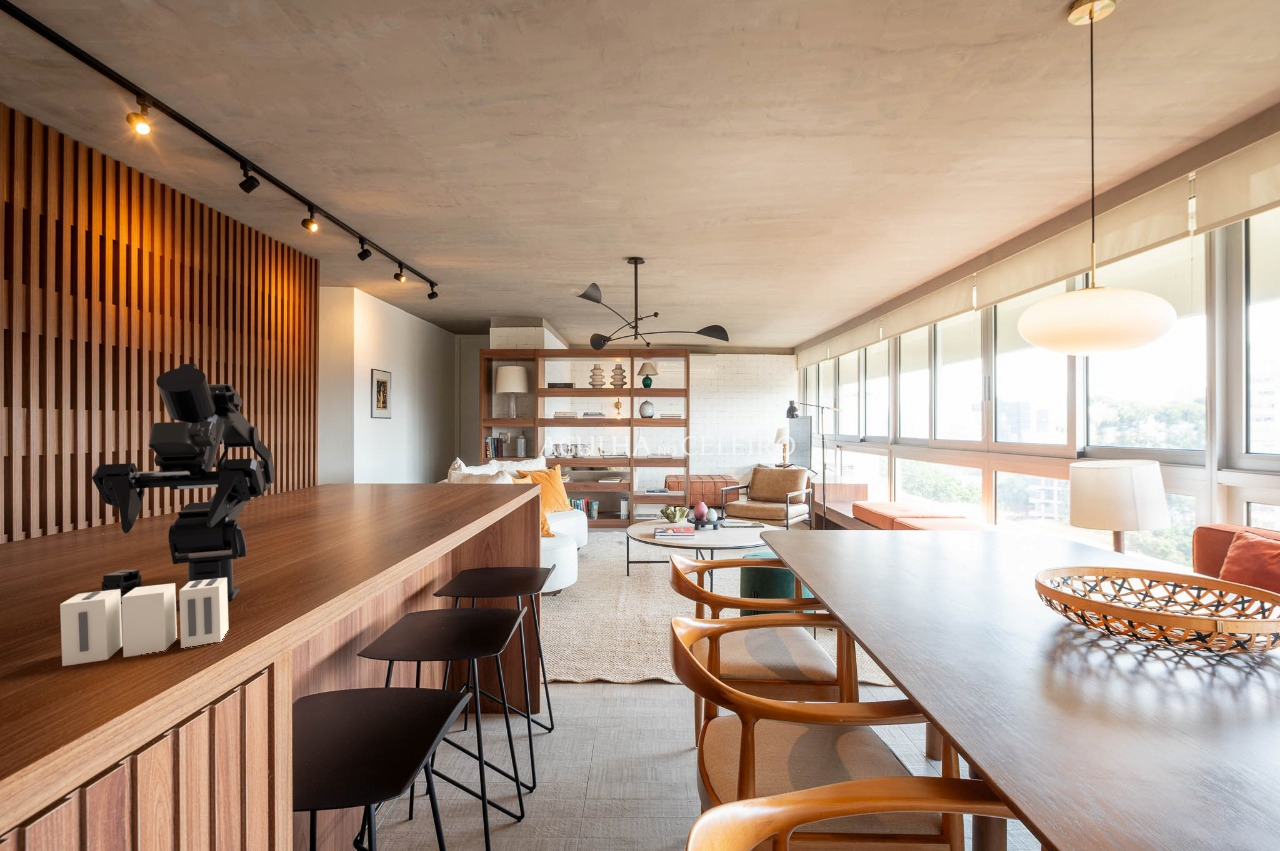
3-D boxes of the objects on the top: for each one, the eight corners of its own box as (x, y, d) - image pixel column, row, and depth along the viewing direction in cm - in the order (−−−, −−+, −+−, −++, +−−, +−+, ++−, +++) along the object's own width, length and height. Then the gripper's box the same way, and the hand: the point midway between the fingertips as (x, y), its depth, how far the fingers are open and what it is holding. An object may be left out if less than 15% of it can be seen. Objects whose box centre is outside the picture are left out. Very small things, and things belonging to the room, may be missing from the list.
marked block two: (191, 636, 79) (189, 580, 79) (228, 631, 81) (226, 576, 81) (180, 649, 74) (178, 589, 74) (220, 643, 76) (218, 585, 76)
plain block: (137, 643, 77) (135, 587, 77) (177, 638, 78) (175, 583, 78) (123, 657, 72) (121, 597, 72) (165, 651, 74) (163, 592, 74)
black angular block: (111, 611, 93) (110, 581, 93) (62, 613, 93) (61, 582, 93) (173, 590, 105) (172, 563, 105) (130, 591, 105) (130, 564, 105)
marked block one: (80, 651, 74) (78, 592, 74) (122, 645, 76) (120, 587, 76) (61, 667, 70) (59, 603, 70) (106, 660, 71) (104, 598, 71)
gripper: (97, 404, 83) (52, 491, 72) (257, 402, 89) (237, 482, 79) (125, 462, 90) (87, 549, 80) (271, 456, 97) (254, 536, 86)
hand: (167, 528), depth 81 cm, fingers open, 9 cm apart
